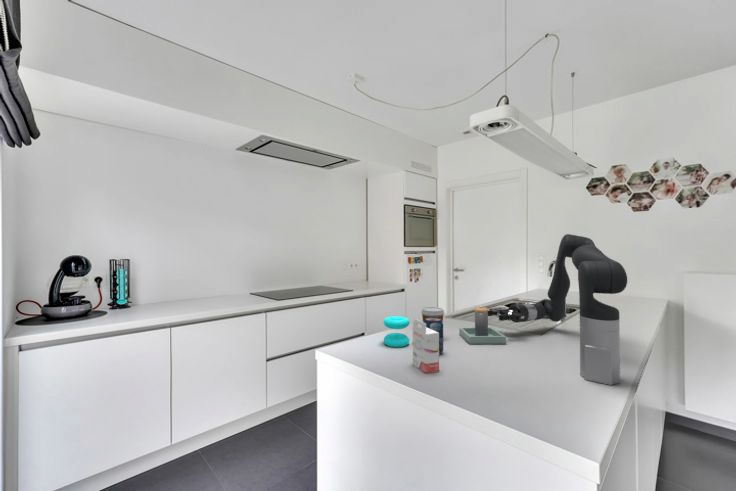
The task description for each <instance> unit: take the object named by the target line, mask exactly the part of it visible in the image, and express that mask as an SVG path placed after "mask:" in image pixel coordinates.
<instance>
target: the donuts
mask: <svg viewBox="0 0 736 491" xmlns="http://www.w3.org/2000/svg"><path fill="white" fill-rule="evenodd" d="M383 324H384V326H385V327H386V328H387V329H389V330H390V329H391V330H403V329H406V328H407V327H408V326H409V325H410V319H409V318H407V317H405V316H399V315H395V316H394V315H393V316H386V317H385V318H384V319H383ZM383 343H384V344H385V345H386V346H388V347H392V348H402V347H406V346H408V345H409V343H410V338H409V336H408V335H406V334H404V333H400V332H393V333H388V334H385V336H384V337H383Z"/></svg>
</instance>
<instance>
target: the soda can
mask: <svg viewBox="0 0 736 491" xmlns="http://www.w3.org/2000/svg"><path fill="white" fill-rule="evenodd" d="M424 323H426V327H427V328H429V329H431V330H434V331H436V332H439V356H440V355H441V354H442V353H443V351H444V322H443V323H442V321H441V319H440V318H436V317H428V318H425V321H424Z"/></svg>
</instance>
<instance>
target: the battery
mask: <svg viewBox="0 0 736 491" xmlns="http://www.w3.org/2000/svg"><path fill="white" fill-rule="evenodd" d="M488 311H489V310H488V307H485V306H483V305H478V306H477V307H474V328H475V336H488V328H489V316H488Z"/></svg>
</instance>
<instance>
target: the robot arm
mask: <svg viewBox="0 0 736 491" xmlns="http://www.w3.org/2000/svg"><path fill="white" fill-rule="evenodd" d="M566 258H570V259H571V261H572V264H573V266H574V267H575V269H576V270H577V282H578V294H579V297H578V298H579V301H578V302H579V374H580V376H581V377H583V378H584V380H586V381H590V382H594V383H601V384H604V385H609V386H613V384H619V383H620V382H621V362H620V361H621V354H620V352H621V350H620V349H621V348H620V347H621V346H620V344H621V343H620V342H621V340H620V339H621V338H620V326H621V325H620V310H619V309H618V308H617V307H615V306H611V305H608V304H606V303H603V302H601V301H599V300H598V299H596V298H595V297H594V294H606V295H607V294H608V295H614V294H615V295H616V294H620V293H622V292H623V291H625V289H626V288H627V285H628V274H627V272H626V270H625V268H624V266H623V265H622V264H621V263H620V262H618V261H617V260H614V259H612V258H610V257H608V256H607V255H606V254H604V253H603V251H602V250H601V249H599V248H598V247H597V246H596V244H595V242H594V241H593V240H592V239H591V238H589V237H587V236H581V235H574V234H570V233H569V234H568V233H567V234H564V235H563V237H562V238H561V240H560V243H559V246H558V250H557V254H556V260H555V265H554V269H553V270H554V271H553V275H552V279H551V283H550V285H549V288H548V291H547V297H548V298H549V299H547V298H544V299H541V300H540V301H537V302H535V303H517V304H511V305H510V306H509V307H508V308H501V307H497V308H489V310H488V317H497V318H498V320H499V321H500V322H503V321H507V322H508V321H509V322H513V323H526V322H531V321H538V320H543V319H545V317H546V318H548V319H549V320H550V321H552V322H559V321H560V322H561V320H562V319H563V318H564V317H565V314H566V305H567V304H566V298H567V296H568V293H569V290H570V288H571V279H570V276H569V273H568V271H567V268H566V263H565V262H566Z"/></svg>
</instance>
